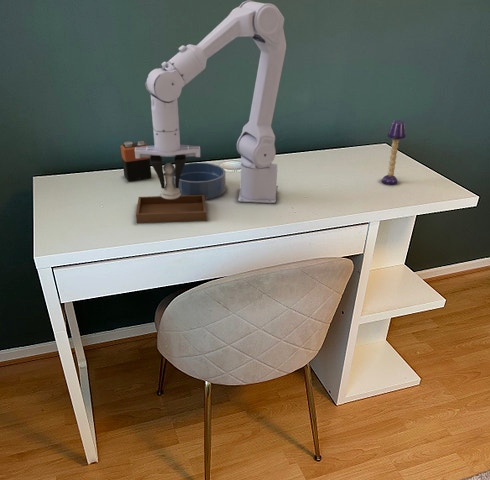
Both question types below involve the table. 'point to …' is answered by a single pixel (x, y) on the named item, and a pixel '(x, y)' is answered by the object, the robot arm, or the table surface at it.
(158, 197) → the tray
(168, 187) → the chess piece
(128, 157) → the battery
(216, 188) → the bowl
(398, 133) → the toy lamp
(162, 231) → the table surface
